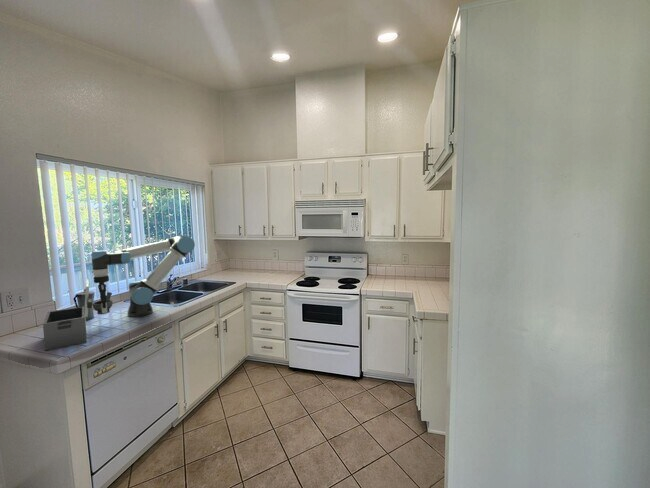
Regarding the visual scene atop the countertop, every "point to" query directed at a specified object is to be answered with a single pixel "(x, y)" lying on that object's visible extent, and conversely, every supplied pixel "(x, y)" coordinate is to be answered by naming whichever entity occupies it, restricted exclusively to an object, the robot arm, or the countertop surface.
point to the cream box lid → (87, 301)
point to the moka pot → (82, 302)
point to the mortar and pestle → (98, 305)
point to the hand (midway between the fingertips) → (104, 310)
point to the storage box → (64, 328)
